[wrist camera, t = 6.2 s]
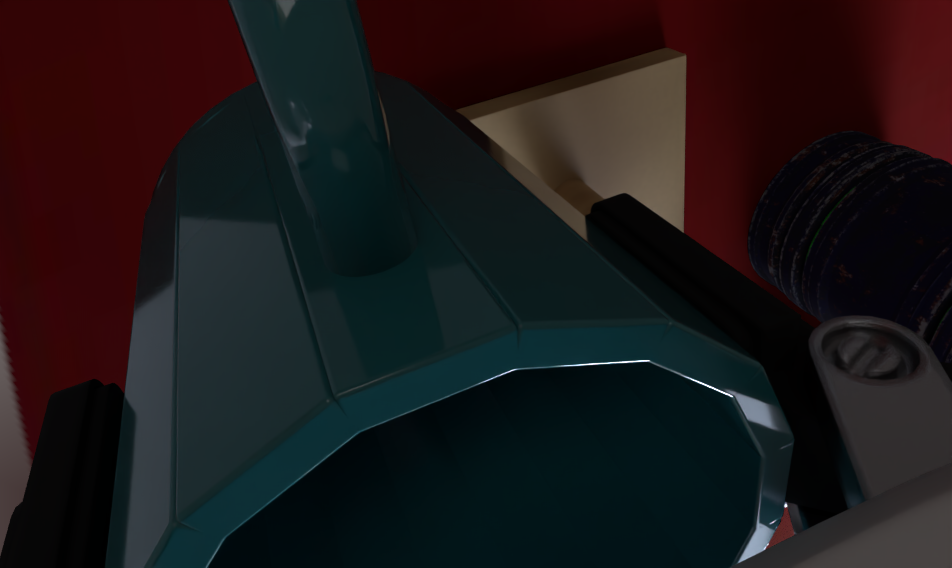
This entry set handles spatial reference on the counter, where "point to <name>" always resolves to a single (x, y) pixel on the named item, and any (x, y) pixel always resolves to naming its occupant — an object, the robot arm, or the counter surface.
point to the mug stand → (601, 132)
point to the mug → (413, 349)
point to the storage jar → (861, 234)
